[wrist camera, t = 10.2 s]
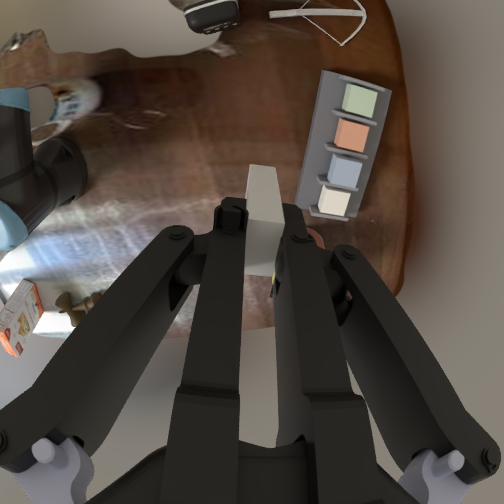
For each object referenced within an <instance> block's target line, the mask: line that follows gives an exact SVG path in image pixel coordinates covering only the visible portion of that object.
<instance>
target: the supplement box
mask: <svg viewBox="0 0 504 504" xmlns="http://www.w3.org/2000/svg"><path fill="white" fill-rule="evenodd" d="M7 253H8V251H2V250H0V261H1V260H2V259H3V258H4V257H5V255H6V254H7Z"/></svg>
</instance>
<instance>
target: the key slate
mask: <svg viewBox="0 0 504 504" xmlns="http://www.w3.org/2000/svg"><path fill="white" fill-rule="evenodd" d="M361 167H362V163H361V162H360V161H359V160H358V159H356V158H352V157H348V156H343V155H339V154H334V153H333V157H332V161H331V165H330V169H329V172H328V176H327V178H328V180H329V182H330V183H332V184H337V185H342V186H347V187H352V188H355V187H356V184H357V181H358V177H359V174H360V171H361Z"/></svg>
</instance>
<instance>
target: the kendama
mask: <svg viewBox="0 0 504 504" xmlns="http://www.w3.org/2000/svg"><path fill="white" fill-rule="evenodd" d="M101 296H102V295H101V294H100V293H98V292H97V293H95V294H94V295H93V296H92V297H89V296H88V297H85V298H84V301H83V302H81V303H79V304H77V305H75V306H74V305H73V304H72V302H71V299H70V294H69V293H68V292H66V293H63V294H62V295H60V296H59V297H58V299H57V300H56V303H55V305H56V306H57V307H59V308H61V309H63V310H61V311H59V313H65V312H67V314H68V315H69V316H70V319H71V325H72V326H73V327H76V326H77V325H78V324H79V323H80V322H81V320H82V319H83V318H84V317H85V315H86V313H85V312H83V311H80V310H87V311H88V312H89V311H90V309H91V308H92V307H93V306H94V305H95V303H96V302H97V301H98V300H99V299H100V298H101Z"/></svg>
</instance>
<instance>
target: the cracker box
mask: <svg viewBox="0 0 504 504" xmlns="http://www.w3.org/2000/svg"><path fill="white" fill-rule="evenodd" d="M42 314H43V309H42V306H41V302H40V299H39V296H38V292H37V289H36V285H35V284H34V283H32V282H29V281H27V280H25V279H23V280H22V281H21V283H20V284H19V285H18V287H17V288H16V290H15V291H14V292H13V294H12V295H11V297H10V298H9V300H8V301H7V303H6V304H5V306H4V307H3V309H2V310H1V312H0V341H1V343H2V345H3V346H4V348H5V350H6V351H7V352H8V353H10V354H12V355H13V356H15V357H17V358H19V357H20V355H21V353H22V351H23V349H24V347H25V345H26V343H27V341H28V339H29V337H30V335H31V334H32V332H33V330H34V328H35V326H36V325H37V323H38V321H39V319H40V318H41V316H42Z"/></svg>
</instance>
